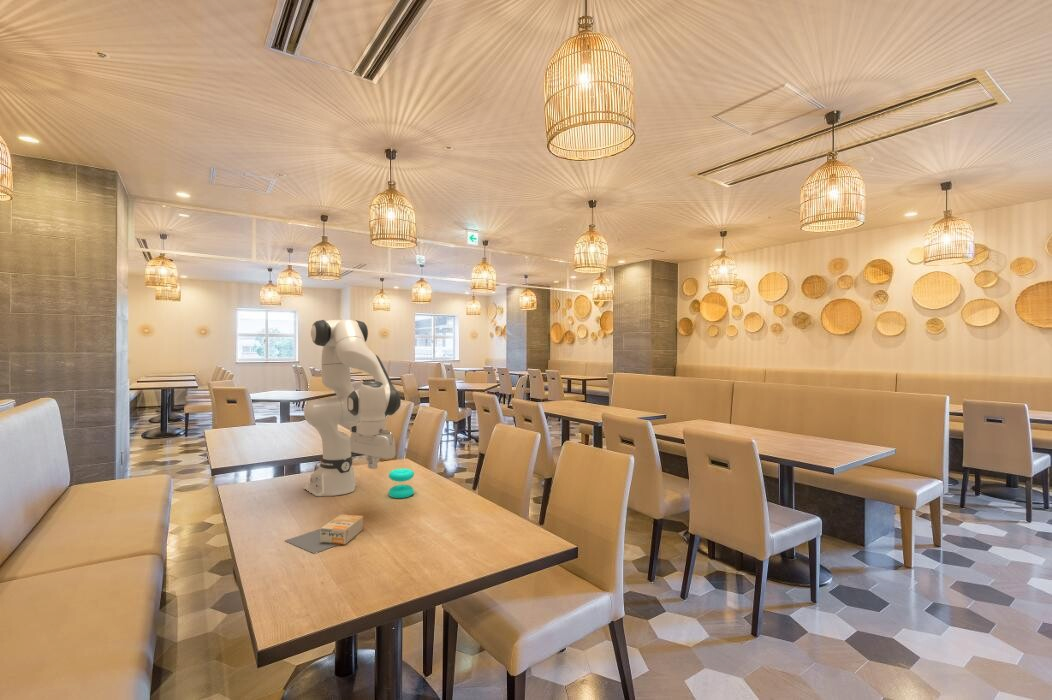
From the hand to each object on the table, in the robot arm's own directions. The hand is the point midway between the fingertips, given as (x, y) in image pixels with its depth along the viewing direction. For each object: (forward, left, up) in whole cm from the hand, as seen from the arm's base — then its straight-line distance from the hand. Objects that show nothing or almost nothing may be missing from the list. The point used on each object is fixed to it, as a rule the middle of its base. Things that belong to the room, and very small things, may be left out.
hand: (372, 468), depth 167 cm
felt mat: (0, -19, -19) cm, 27 cm away
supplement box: (0, -8, -16) cm, 18 cm away
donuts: (-15, +26, -19) cm, 36 cm away
